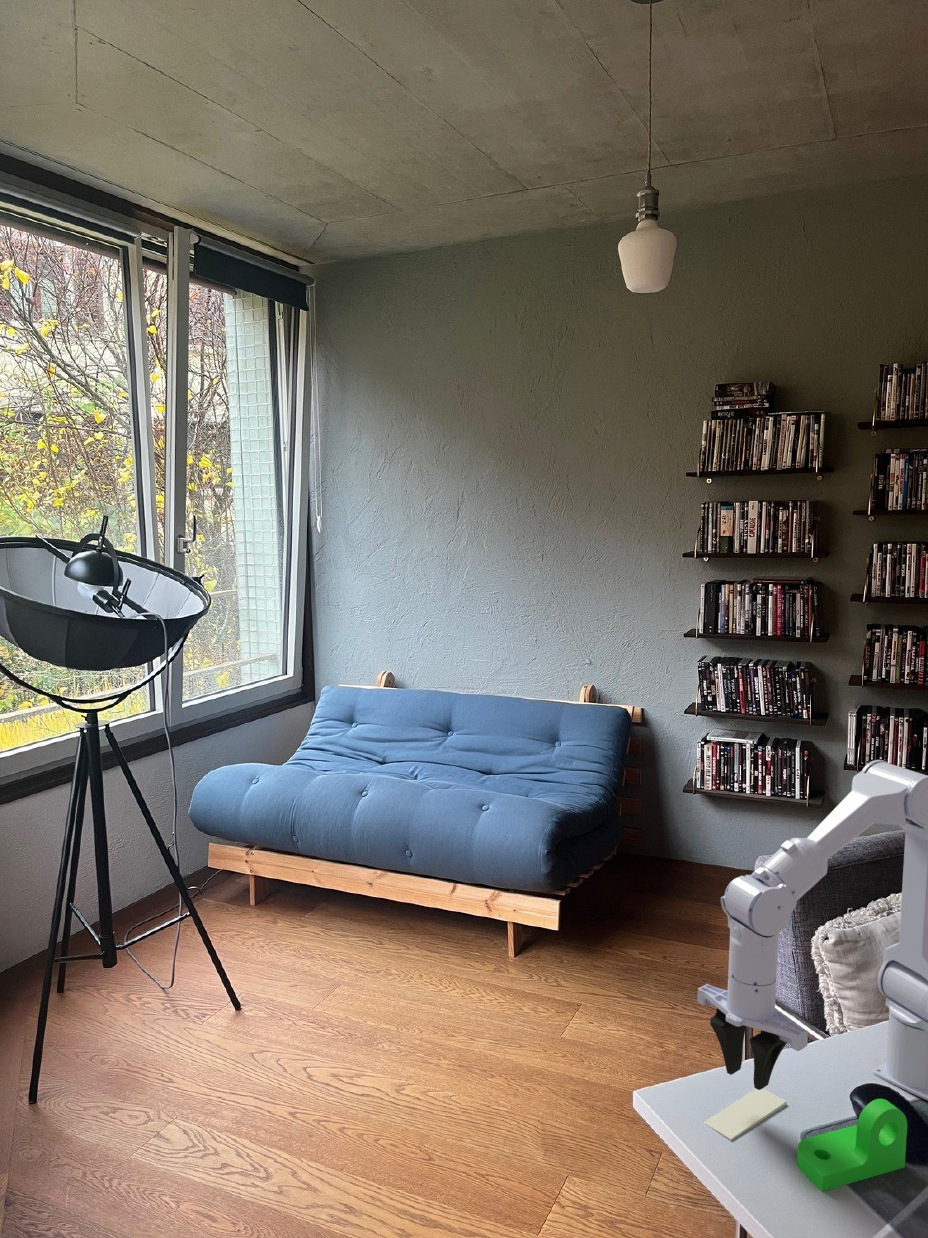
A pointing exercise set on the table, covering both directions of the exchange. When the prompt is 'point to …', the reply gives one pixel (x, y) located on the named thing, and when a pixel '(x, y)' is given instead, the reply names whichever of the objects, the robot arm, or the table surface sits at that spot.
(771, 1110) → the plate
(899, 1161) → the mechanical part
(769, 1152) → the table surface
